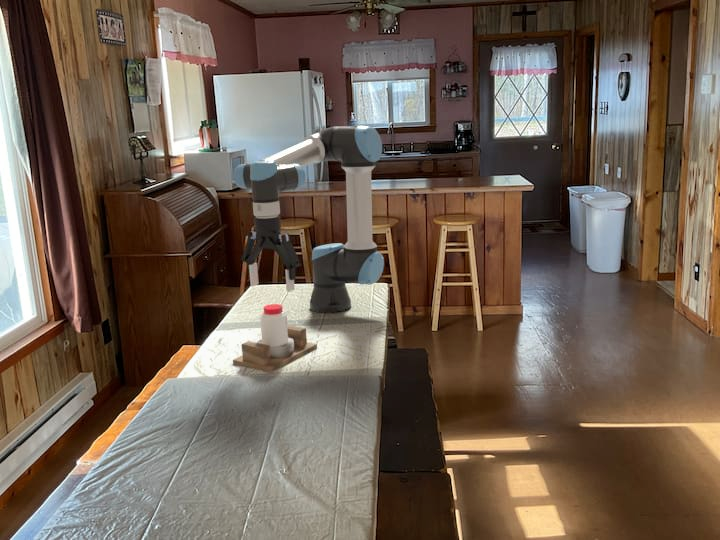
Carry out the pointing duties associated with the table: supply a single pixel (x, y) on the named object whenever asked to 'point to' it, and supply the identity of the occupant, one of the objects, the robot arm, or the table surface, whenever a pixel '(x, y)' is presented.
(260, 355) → the cardboard packaging tray
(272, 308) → the pill bottle
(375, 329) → the table surface
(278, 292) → the table surface
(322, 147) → the robot arm
